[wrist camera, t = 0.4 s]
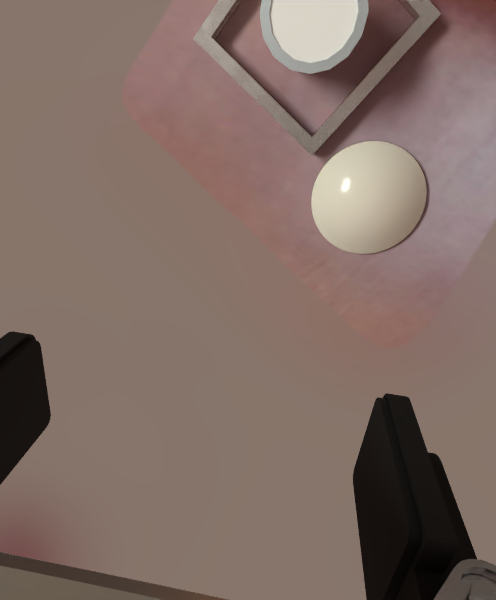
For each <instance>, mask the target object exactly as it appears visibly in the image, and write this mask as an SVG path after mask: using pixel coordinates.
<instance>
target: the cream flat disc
mask: <svg viewBox="0 0 496 600" xmlns="http://www.w3.org/2000/svg"><path fill="white" fill-rule="evenodd" d="M426 195H427V189H426V181H425V177H424V174H423V172H422V169H421V168H420V166H419V164H418V163H417V161H416V160H415V159H414V158H413V157H412V156H411V155H410V154H409V153H408V152H407V151H405V150H404V149H402V148H400V147H398V146H396V145H394V144H391V143H387V142H382V141H366V142H360V143H357V144H353V145H351V146H349V147H346V148H345V149H343V150H341V151H340V152H338V153H337V154H335V155H334V156H333V157H332V158H331V159H330V160H329V161H328V162H327V163H326V164H325V165H324V167H323V168H322V170H321V171H320V173H319V175H318V177H317V179H316V181H315V184H314V187H313V191H312V200H311V205H312V213H313V218H314V220H315V223H316V225H317V227H318V229H319V231H320V232H321V234H322V235H323V236H324V237H325V238H326V239H327V240H328V241H329V242H330V243H331V244H333V245H334V246H336V247H338V248H340V249H342V250H344V251H348V252H351V253H357V254H369V253H376V252H380V251H383V250H386V249H388V248H390V247H392V246H394V245H396V244H397V243H399V242H400V241H402V240H403V239H404V238H405V237H406V236H407V235H409V234H410V233H411V231H412V230H413V229H414V228H415V226H416V225H417V223H418V221H419V220H420V218H421V216H422V213H423V210H424V207H425V203H426Z"/></svg>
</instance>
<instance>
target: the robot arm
mask: <svg viewBox="0 0 496 600" xmlns="http://www.w3.org/2000/svg"><path fill="white" fill-rule="evenodd" d="M50 416H51V414H50V406H49V400H48V393H47V386H46V379H45V373H44V366H43V359H42V352H41V346H40V343H39V342H38V341H36V339H35V337H34V336H33V335H31V334H25V333H18V332H9V333H7V334H6V335H4V336H3V337H2V338H0V484H1V483H2V482H3V481H4V479H5V478H6V477H7V476H8V475H9V473H10V472H11V471H12V470H13V468H14V467H15V466H16V465H17V463H18V462H19V461H20V460H21V458H22V457H23V456H24V455H25V453H26V452H27V451H28V450H29V448H30V447H31V446H32V444H33V443H34V442H35V441H36V440H37V438H38V437H39V436H40V434H41V433H42V432H43V431H44V430H45V428H46V427H47V425H48V423H49V421H50ZM353 485H354V494H355V503H356V511H357V520H358V529H359V538H360V546H361V554H362V563H363V572H364V580H365V589H366V598H367V600H496V566H495V565H494V564H491V563H488V562H486V561H483V560H478V559H477V558H476V555H475V552H474V549H473V547H472V544H471V541H470V539H469V536H468V533H467V530H466V528H465V525H464V522H463V519H462V517H461V514H460V511H459V509H458V506H457V503H456V500H455V498H454V495H453V493H452V490H451V487H450V484H449V481H448V479H447V476H446V473H445V470H444V468H443V465H442V463H441V460H440V458H439V457H438V456H437V455H436V454H434V453H428V452H427V449H426V446H425V443H424V440H423V437H422V434H421V431H420V428H419V425H418V422H417V419H416V417H415V413H414V410H413V407H412V404H411V402H410V399H409V398H408V397H406V396H399V395H393V394H385V395H384V397H383V398H377V399H376V401H375V403H374V407H373V410H372V413H371V416H370V419H369V423H368V426H367V429H366V432H365V436H364V439H363V442H362V445H361V448H360V452H359V455H358V459H357V461H356V465H355V468H354V473H353ZM0 600H227V599H223V598H218V597H214V596H209V595H204V594H199V593H195V592H190V591H185V590H181V589H176V588H171V587H167V586H162V585H157V584H152V583H148V582H143V581H138V580H132V579H128V578H124V577H118V576H114V575H108V574H104V573H99V572H95V571H90V570H85V569H80V568H75V567H70V566H65V565H60V564H55V563H51V562H46V561H41V560H36V559H31V558H27V557H21V556H17V555H11V554H7V553H2V552H0Z"/></svg>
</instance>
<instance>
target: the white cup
mask: <svg viewBox="0 0 496 600" xmlns="http://www.w3.org/2000/svg"><path fill="white" fill-rule="evenodd" d="M368 12H369V8H368V0H262V3H261V9H260V20H261V26H262V33H263V38H264V40H265V42H266V43H267V45H268V47H269V49H270V51H271V52H272V54H273V56H274V57H275V58H276V59H277V60H278V61H280V62H281V63H282V64H284V65H285V66H286V67H287V68H289V69H290V70H294V71H298V72H303V73H307V74H312V73H316V72H321V71H325V70H330V69H331V68H333V67H334V66H335V65H337V64H338V63H340V62H341V61H342V60H344V59H345V58H346V57H348V56H349V54H350V53H351V51H352V50H353V48H354V47H355V45H356V44H357V42H358V41H359V40H360V38H361V37H362V34H363V30H364V26H365V23H366V19H367V15H368Z"/></svg>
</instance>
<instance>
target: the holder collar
mask: <svg viewBox="0 0 496 600" xmlns="http://www.w3.org/2000/svg"><path fill="white" fill-rule="evenodd" d="M241 1H242V0H219V1H218V3H217V4H216V6H215V7H214V9H213V10H212V12H211V13H210V15H209V16H208V18H207V19H206V20H205V22H204V23H203V25H202V26H201V28H200V29H199V31H198V32H197V34H196V35H195V37H194V38H193V39H194V40H195V41H196V42H197V43H198V44H199V45H200V46H201V47H202V48H203V49H204V50H205V51H206V52H207V53H208V54H209V55H210V56H211V57H212V58H213V59H214V60H215V61H216V62H217V63H218V64H220V65H221V66H222V67H223V68H224V69H225V70H226V71H227V72H228V73H229V74H230V75H231V76H232V77H233V78H234V79H235V80H236V81H237V82H238V83H239V84H240V85H241V86H242V87H243V88H244V89H245V90H246V91H247V92H248V93H249V94H250V95H251V96H252V97H253V98H254V99H255V100H256V101H257V102H258V103H259V104H260V105H261V106H262V107H263V108H264V109H265V110H266V111H267V112H268V113H269V114H270V115H271V116H272V117H273V118H274V119H275V120H276V121H278V122H279V123H280V124H281V125H282V126H283V127H284V128H285V129H286V130H287V131H288V132H289V133H290V134H291V135H292V136H293V137H294V138H295V139H296V140H297V141H298V142H299V143H300V144H301V145H302V146H303V147H304V148H305V149H306V150H307V151H308V152H309V153H310V154H311V155H313V154H314V153H315V152H316V151H317V150H318V148H319V147H320V146H321V145H322V144H323V143H324V142H325V141H326V140H327V139H328V138H329V136H330V135H331V134H332V133H333V132H334V131H335V130H336V129H337V128H338V127H339V125H340V124H341V123H342V122H343V121H344V120H345V119H346V118H347V117H348V116H349V114H350V113H351V112H352V111H353V110H354V109H355V108H356V107H357V106H358V105H359V103H360V102H361V101H362V100H363V99H364V98H365V97H366V96H367V95H368V94H369V92H370V91H371V90H372V89H373V88H374V87H375V86H376V85H377V84H378V83H379V81H380V80H381V79H382V78H383V77H384V76H385V75H386V74H387V73H388V72H389V70H390V69H391V68H392V67H393V66H394V65H395V64H396V63H397V62H398V61H399V60H400V58H401V57H402V56H403V55H404V54H405V53H406V52H407V51H408V50H409V49H410V47H411V46H412V45H413V44H414V43H415V42H416V41H417V40H418V39H419V38H420V36H421V35H422V34H423V33H424V32H425V31H426V30H427V29H428V28H429V27H430V25H431V24H432V23H433V22H434V21H435V20H436V19H437V18H438V17H439V16H440V14H441V13H440V12H439V11H438V10H437V9H436V8H435V6H434V5H433V4H432V3H431V2H430V0H399V2H400V3H401V4H402V5H403V6H404V7H405V9H406V10H407V11H408V12H409V13H410V14H411V15H412V17H413V18H414V19H415V21H414V22H413V23H412V24H411V25H410V26H409V28H408V29H407V30H406V31H405V32H404V33H403V34H402V35H401V37H400V38H399V39H398V40H397V41H396V42H395V43H394V44H393V46H392V47H391V48H390V49H389V50H388V51H387V52H386V53H385V55H384V56H383V57H382V58H381V59H380V60H379V61H378V62H377V64H376V65H375V66H374V67H373V68H372V69H371V70H370V71H369V73H368V74H367V75H366V76H365V77H364V78H363V79H362V80H361V82H360V83H359V84H358V85H357V86H356V87H355V88H354V89H353V91H352V92H351V93H350V94H349V95H348V96H347V97H346V98H345V100H344V101H343V102H342V103H341V104H340V105H339V106H338V107H337V109H336V110H335V111H334V112H333V113H332V114H331V115H330V116H329V118H328V119H327V120H326V121H325V122H324V123H323V124H322V125H321V127H320V128H319V129H318V130H317V131H316V132H315V133H314V134H313V136H311V135H310V134H309V133H308V132H307V131H306V130H305V129H304V128H303V127H302V126H301V125H300V124H299V123H298V122H297V121H296V120H295V119H294V118H293V117H292V116H291V115H290V114H289V113H288V112H287V111H286V110H285V109H284V108H283V107H282V106H281V105H280V104H279V103H278V102H277V101H276V100H275V99H274V98H273V97H272V96H271V95H270V94H269V93H268V92H267V91H266V90H265V89H264V88H263V87H262V86H261V85H260V84H259V83H258V82H257V81H256V80H255V79H254V78H253V77H252V76H251V75H250V74H249V73H248V72H247V71H246V70H245V69H244V68H243V67H242V66H241V65H240V64H239V63H238V62H237V61H236V60H235V59H234V58H233V57H232V56H231V55H230V54H229V53H228V52H227V51H225V50H224V49H223V48H222V47H221V46H220V45H219V44H218V43H217V42H216V41H215V39H216V37H217V36H218V34H219V33H220V31H221V30H222V28H223V27H224V26H225V24H226V23H227V21H228V20H229V18H230V17H231V15H232V14H233V13H234V11H235V10H236V8H237V7H238V5H239V4H240V2H241Z"/></svg>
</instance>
